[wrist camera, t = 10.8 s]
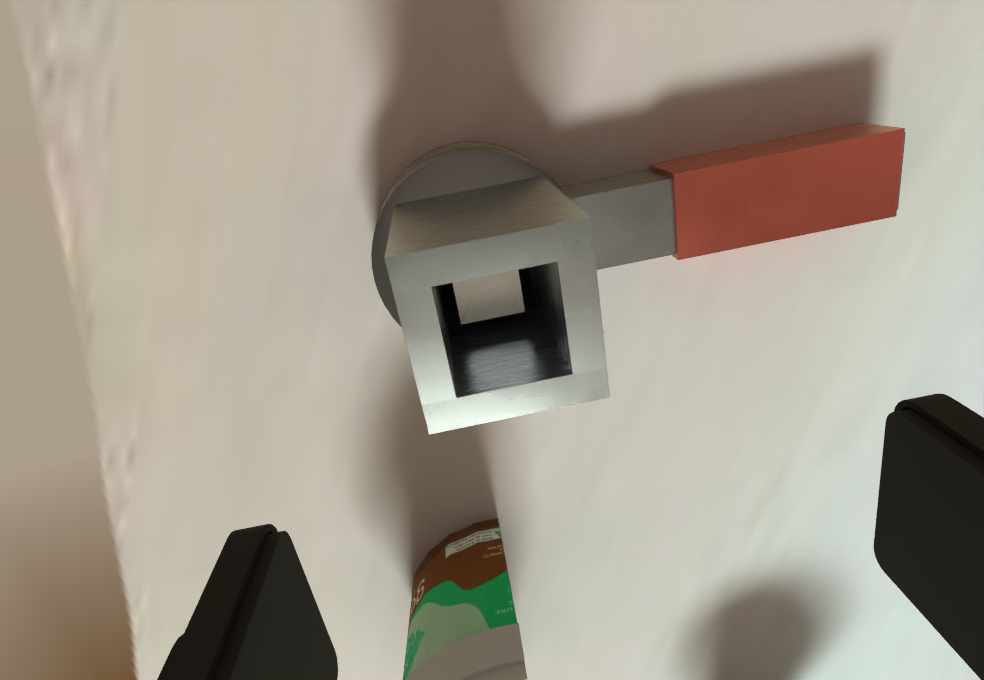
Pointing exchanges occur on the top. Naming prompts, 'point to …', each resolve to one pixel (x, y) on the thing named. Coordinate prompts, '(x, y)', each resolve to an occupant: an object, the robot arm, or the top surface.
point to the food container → (464, 611)
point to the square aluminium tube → (507, 339)
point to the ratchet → (670, 202)
